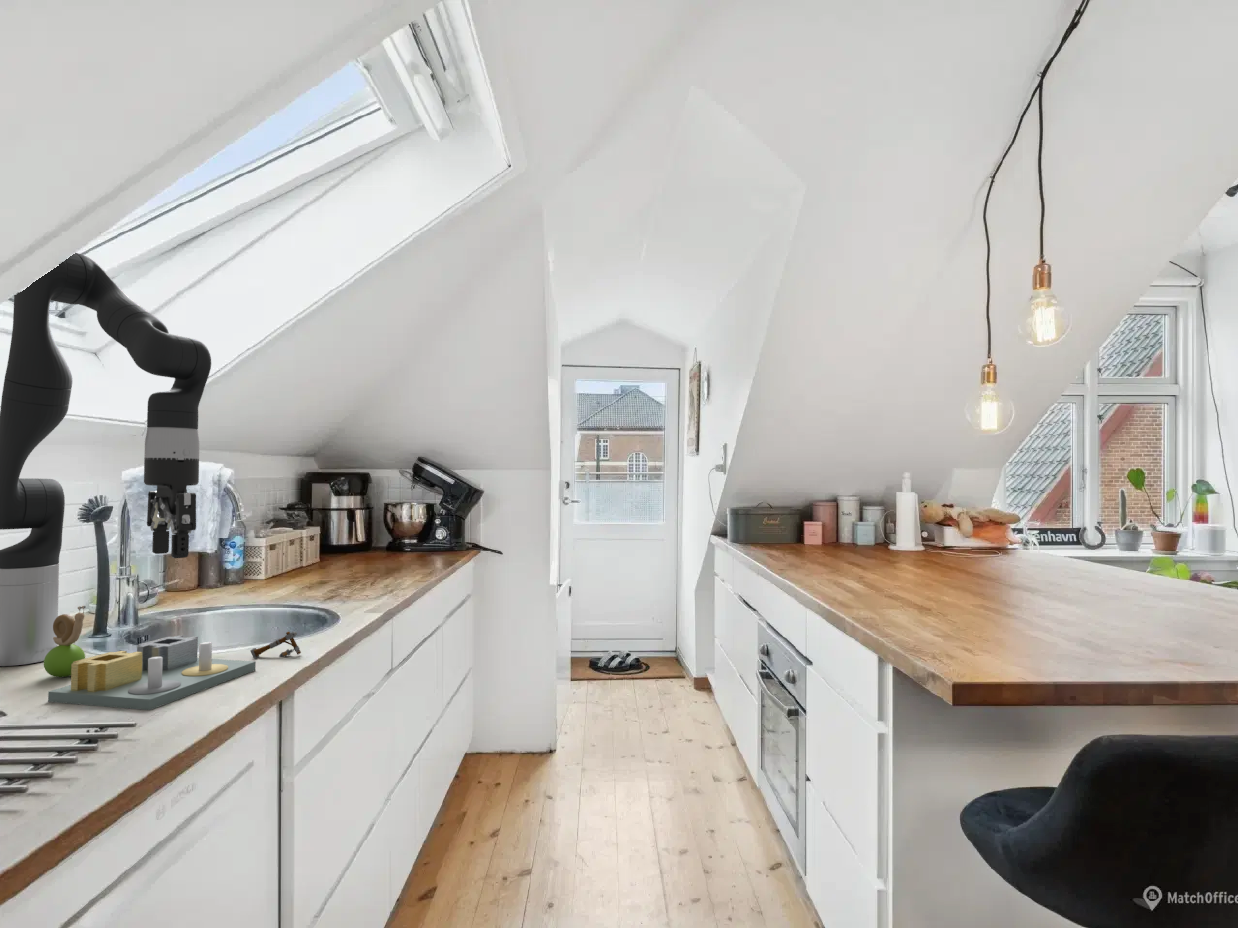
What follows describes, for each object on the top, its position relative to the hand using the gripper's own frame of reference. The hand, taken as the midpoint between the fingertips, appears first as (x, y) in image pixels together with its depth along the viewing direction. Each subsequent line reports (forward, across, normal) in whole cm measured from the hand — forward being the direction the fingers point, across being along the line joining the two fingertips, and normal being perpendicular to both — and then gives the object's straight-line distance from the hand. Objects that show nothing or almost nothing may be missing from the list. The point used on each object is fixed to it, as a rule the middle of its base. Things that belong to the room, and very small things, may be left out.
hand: (170, 555), depth 111 cm
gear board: (+21, 0, -1) cm, 21 cm away
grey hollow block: (+19, -6, +2) cm, 20 cm away
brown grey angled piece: (+21, -3, +19) cm, 29 cm away
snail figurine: (+21, -17, -9) cm, 29 cm away
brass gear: (+19, -1, -8) cm, 21 cm away
